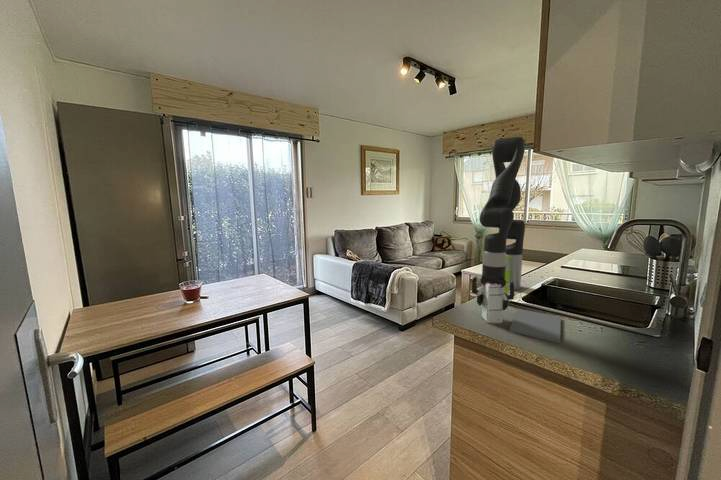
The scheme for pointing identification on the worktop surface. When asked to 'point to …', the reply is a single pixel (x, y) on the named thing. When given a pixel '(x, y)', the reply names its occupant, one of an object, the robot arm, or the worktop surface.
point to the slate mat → (536, 325)
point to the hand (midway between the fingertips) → (491, 306)
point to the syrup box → (492, 304)
